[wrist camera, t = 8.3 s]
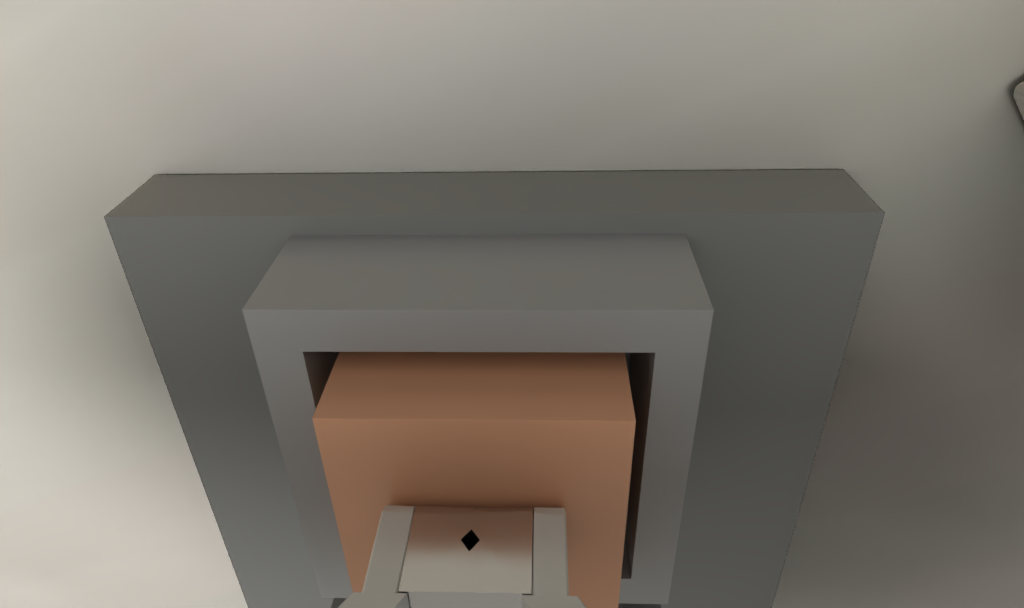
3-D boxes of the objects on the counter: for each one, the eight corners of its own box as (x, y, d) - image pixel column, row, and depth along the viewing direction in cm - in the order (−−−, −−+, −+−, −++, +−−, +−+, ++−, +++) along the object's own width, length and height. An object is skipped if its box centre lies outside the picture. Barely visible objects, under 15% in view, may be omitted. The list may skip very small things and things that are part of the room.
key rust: (615, 294, 13) (635, 420, 10) (603, 476, 16) (616, 618, 13) (362, 294, 13) (312, 417, 11) (391, 473, 16) (357, 612, 13)
